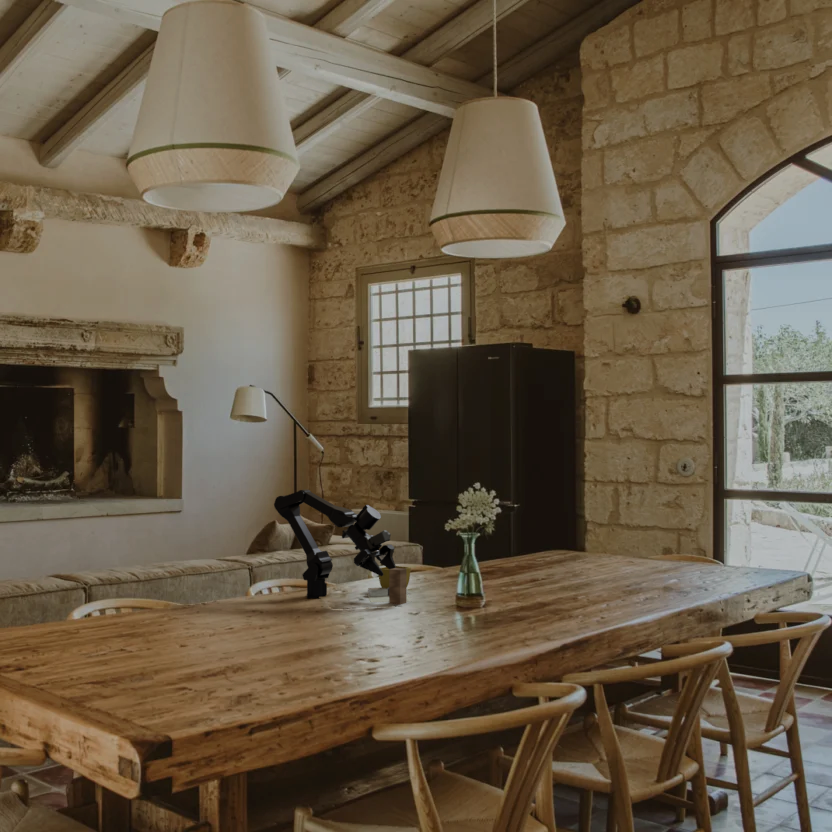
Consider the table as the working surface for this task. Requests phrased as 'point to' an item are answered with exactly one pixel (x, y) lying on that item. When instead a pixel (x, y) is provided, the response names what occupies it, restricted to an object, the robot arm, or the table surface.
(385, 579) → the flower pot
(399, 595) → the walnut post
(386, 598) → the sage board
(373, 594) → the grey metal block
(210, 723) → the table surface
